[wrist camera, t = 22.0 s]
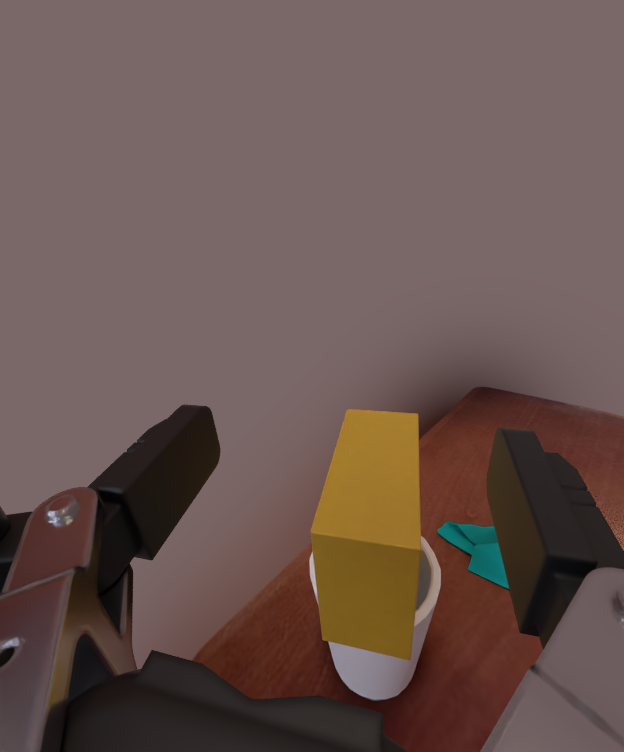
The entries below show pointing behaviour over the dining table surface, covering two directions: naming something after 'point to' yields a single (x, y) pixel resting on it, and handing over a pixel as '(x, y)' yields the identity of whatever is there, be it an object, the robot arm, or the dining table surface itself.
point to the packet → (370, 534)
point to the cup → (383, 672)
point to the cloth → (478, 549)
